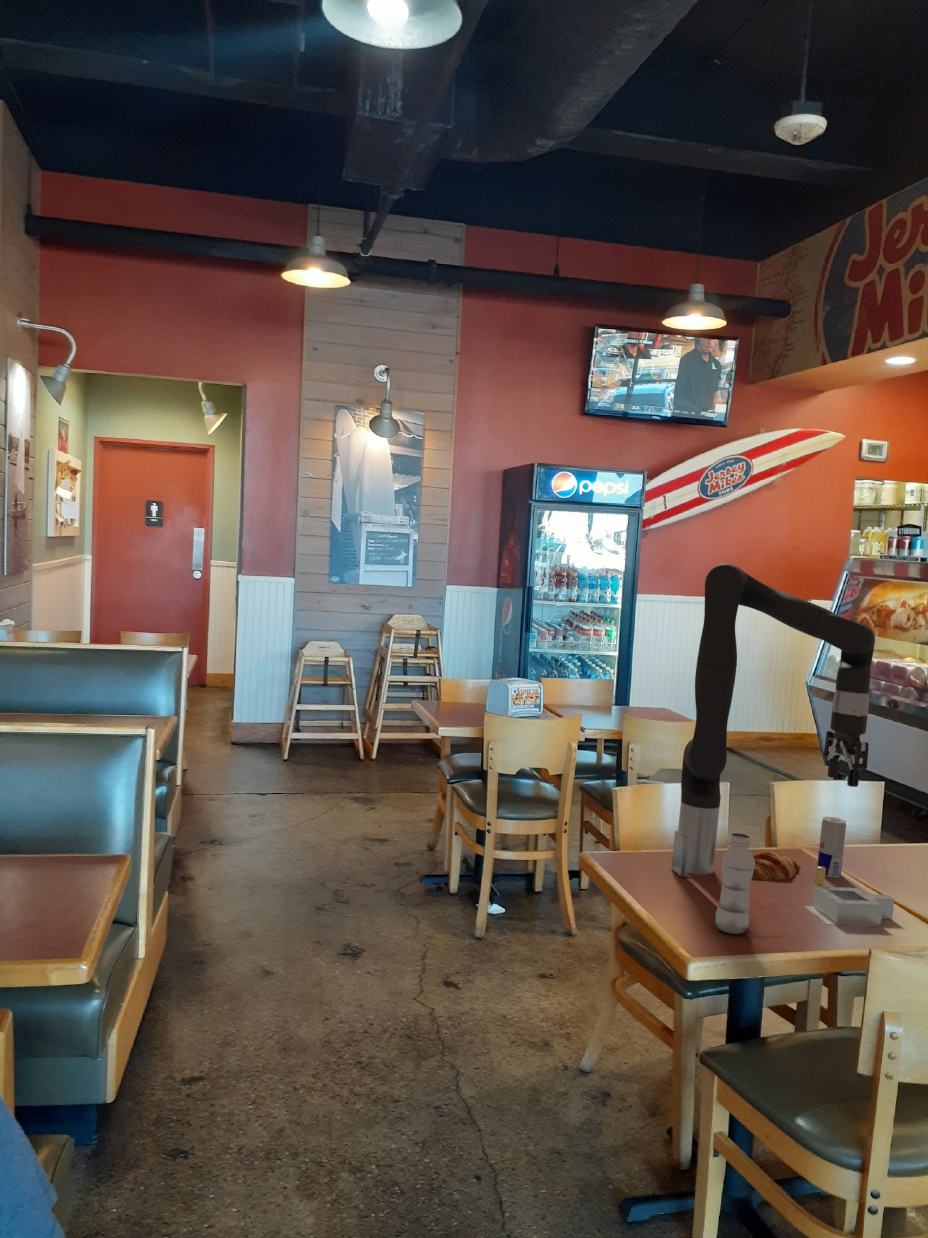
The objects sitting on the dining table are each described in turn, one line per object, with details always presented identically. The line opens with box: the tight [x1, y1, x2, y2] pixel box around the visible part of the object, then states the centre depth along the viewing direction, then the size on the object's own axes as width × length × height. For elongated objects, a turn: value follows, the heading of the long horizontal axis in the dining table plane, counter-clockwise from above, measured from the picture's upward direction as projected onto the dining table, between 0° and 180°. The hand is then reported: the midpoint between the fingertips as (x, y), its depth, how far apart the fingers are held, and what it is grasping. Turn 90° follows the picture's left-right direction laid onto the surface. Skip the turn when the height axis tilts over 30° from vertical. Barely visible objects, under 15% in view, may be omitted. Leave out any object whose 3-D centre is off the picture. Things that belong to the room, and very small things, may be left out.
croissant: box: [752, 850, 802, 880], centre depth 228 cm, size 21×10×8 cm, turn 125°
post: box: [812, 865, 826, 900], centre depth 208 cm, size 2×2×8 cm
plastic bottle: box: [714, 832, 755, 935], centre depth 189 cm, size 6×7×20 cm
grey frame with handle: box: [812, 886, 895, 926], centre depth 201 cm, size 15×10×4 cm, turn 97°
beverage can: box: [816, 816, 847, 879], centre depth 230 cm, size 6×6×15 cm
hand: (842, 781), depth 211 cm, fingers open, 8 cm apart
